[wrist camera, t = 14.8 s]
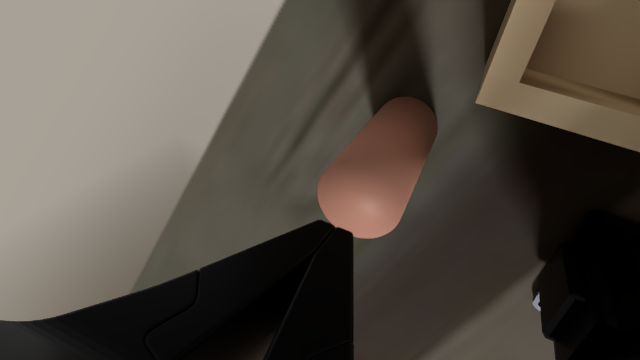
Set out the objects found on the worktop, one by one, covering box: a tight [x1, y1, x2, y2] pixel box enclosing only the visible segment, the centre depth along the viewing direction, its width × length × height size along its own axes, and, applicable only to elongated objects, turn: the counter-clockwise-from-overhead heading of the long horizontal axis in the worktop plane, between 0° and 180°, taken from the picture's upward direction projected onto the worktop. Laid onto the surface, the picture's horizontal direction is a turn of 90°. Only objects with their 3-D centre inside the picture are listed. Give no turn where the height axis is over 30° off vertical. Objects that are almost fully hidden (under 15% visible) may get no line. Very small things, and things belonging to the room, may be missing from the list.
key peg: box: [317, 96, 438, 238], centre depth 18 cm, size 3×3×8 cm
